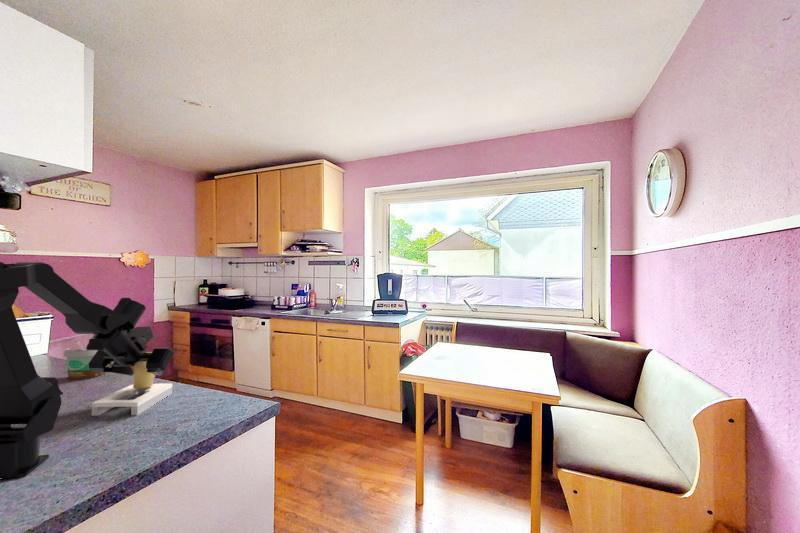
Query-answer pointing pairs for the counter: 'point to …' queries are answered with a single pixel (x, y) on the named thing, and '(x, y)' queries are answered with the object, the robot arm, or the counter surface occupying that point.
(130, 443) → the counter surface
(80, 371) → the food container
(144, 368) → the headed peg
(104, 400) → the keyhole plate
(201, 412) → the counter surface
